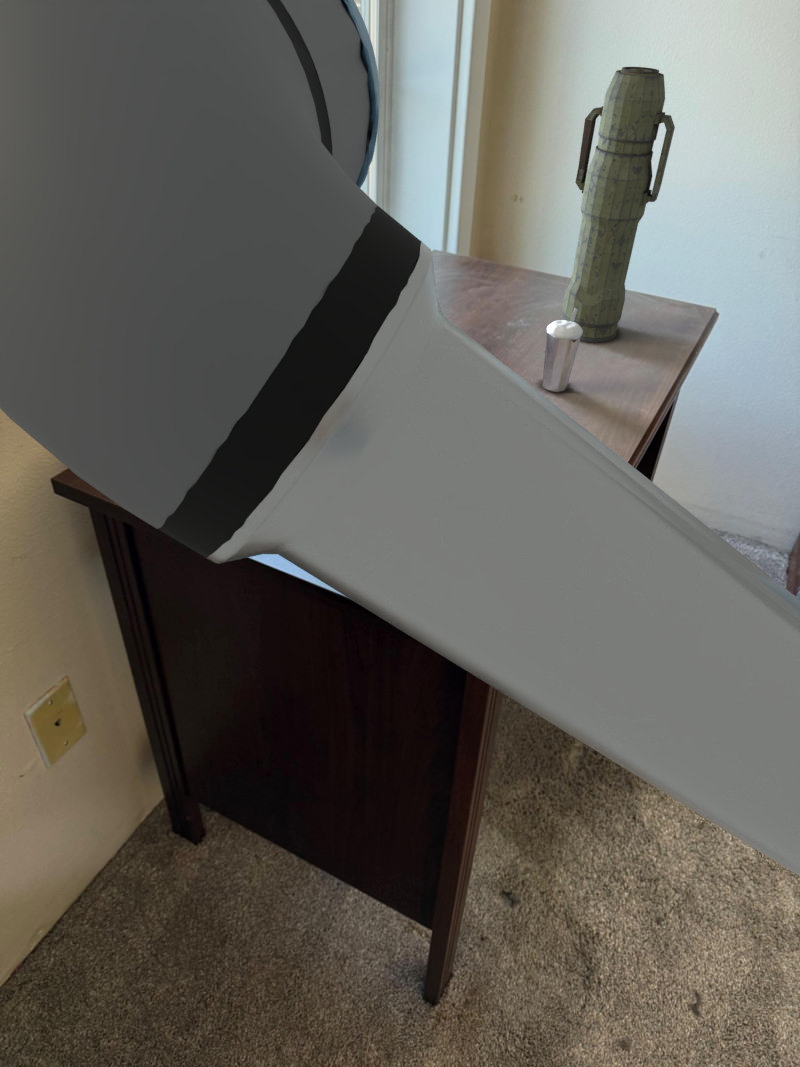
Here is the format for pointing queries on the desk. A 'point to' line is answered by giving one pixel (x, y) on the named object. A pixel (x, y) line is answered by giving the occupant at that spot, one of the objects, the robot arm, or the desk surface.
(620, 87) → the thermos
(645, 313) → the desk surface
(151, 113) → the robot arm
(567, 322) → the milkshake
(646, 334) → the desk surface
